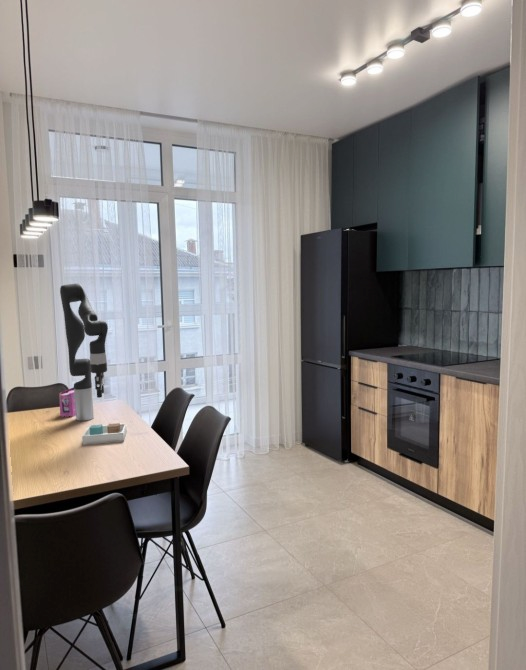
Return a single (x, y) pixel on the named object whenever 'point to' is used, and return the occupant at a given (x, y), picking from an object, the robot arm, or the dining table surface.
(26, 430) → the dining table surface
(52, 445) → the dining table surface
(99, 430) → the teal block
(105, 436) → the white tray
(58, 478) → the dining table surface
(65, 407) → the gum box
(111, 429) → the walnut block
